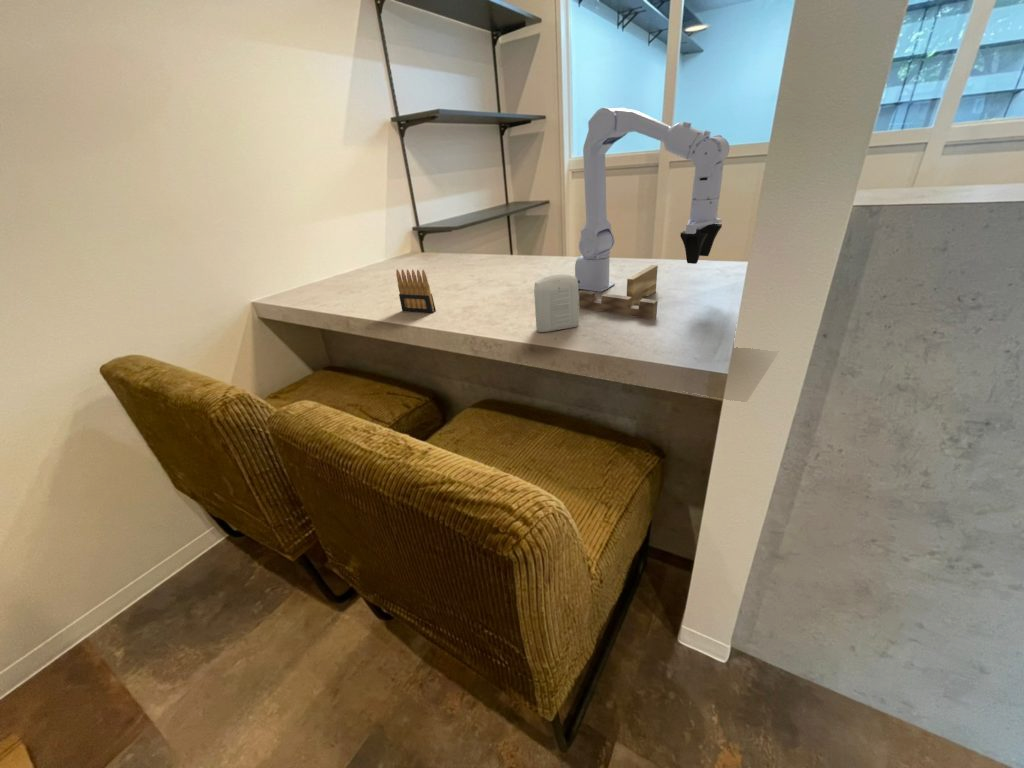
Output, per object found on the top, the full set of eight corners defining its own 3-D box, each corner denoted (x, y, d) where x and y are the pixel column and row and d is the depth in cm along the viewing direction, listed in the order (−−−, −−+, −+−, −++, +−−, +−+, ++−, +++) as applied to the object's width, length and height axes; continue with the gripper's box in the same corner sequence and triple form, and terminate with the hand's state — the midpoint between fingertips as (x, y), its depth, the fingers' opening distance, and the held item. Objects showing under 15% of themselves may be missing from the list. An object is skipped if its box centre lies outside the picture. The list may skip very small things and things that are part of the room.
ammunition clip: (436, 311, 117) (427, 268, 111) (432, 313, 116) (423, 270, 110) (405, 309, 121) (396, 268, 116) (402, 311, 120) (392, 270, 114)
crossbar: (626, 305, 106) (627, 278, 102) (650, 290, 114) (652, 264, 111) (632, 306, 105) (633, 279, 101) (655, 291, 114) (657, 265, 110)
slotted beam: (579, 307, 108) (579, 292, 106) (583, 305, 109) (583, 290, 107) (652, 319, 96) (653, 303, 94) (656, 317, 97) (657, 300, 95)
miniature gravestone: (575, 321, 100) (573, 269, 94) (581, 327, 96) (580, 274, 90) (534, 328, 99) (530, 276, 93) (539, 334, 95) (535, 281, 89)
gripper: (712, 203, 86) (704, 268, 93) (734, 193, 95) (725, 253, 102) (679, 203, 91) (673, 265, 97) (703, 194, 100) (696, 251, 106)
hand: (697, 259), depth 100 cm, fingers open, 7 cm apart
